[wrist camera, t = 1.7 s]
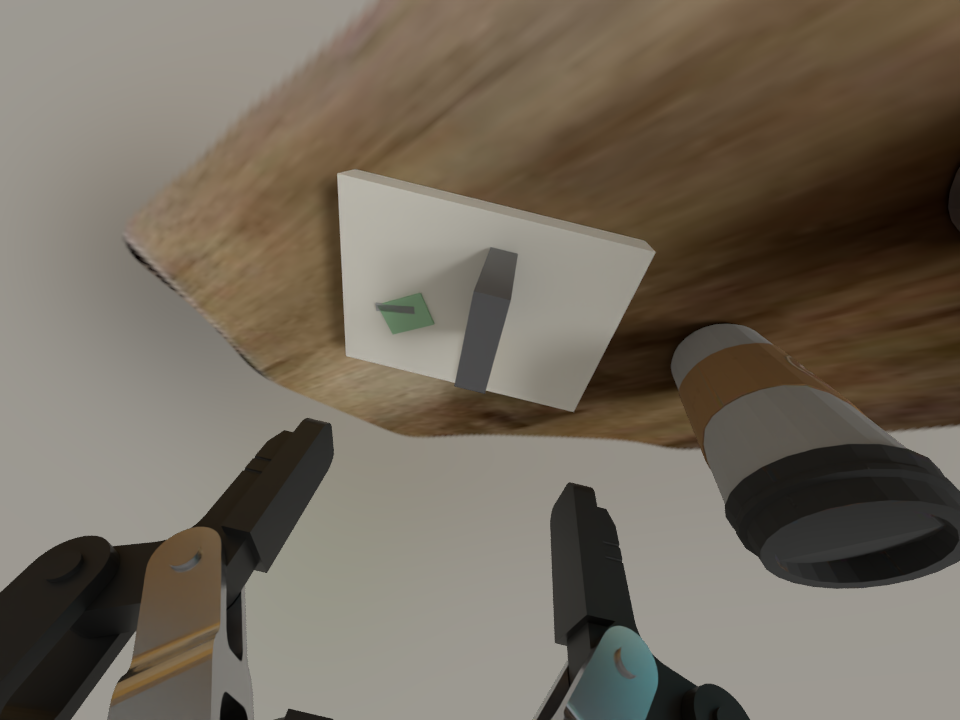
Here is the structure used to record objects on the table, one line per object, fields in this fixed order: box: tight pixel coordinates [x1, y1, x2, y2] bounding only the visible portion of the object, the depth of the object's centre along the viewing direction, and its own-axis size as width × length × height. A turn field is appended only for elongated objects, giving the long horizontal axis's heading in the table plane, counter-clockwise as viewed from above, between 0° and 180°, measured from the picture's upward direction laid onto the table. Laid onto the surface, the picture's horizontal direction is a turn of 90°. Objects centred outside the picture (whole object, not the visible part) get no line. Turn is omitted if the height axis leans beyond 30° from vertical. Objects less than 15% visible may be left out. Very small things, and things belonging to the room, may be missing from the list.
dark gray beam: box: [454, 247, 518, 394], centre depth 22 cm, size 2×11×7 cm, turn 169°
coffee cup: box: [671, 324, 960, 589], centre depth 21 cm, size 8×8×15 cm
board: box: [337, 169, 656, 412], centre depth 26 cm, size 20×14×3 cm
